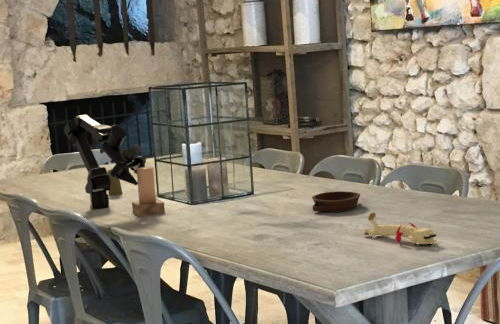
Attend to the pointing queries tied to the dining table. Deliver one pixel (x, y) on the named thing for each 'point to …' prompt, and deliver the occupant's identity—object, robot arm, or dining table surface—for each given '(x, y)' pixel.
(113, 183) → the olive chess pawn
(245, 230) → the dining table surface
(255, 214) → the dining table surface
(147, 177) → the salmon pink block
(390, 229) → the cat figure
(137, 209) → the walnut riser
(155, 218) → the dining table surface
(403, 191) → the dining table surface
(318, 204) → the dish
